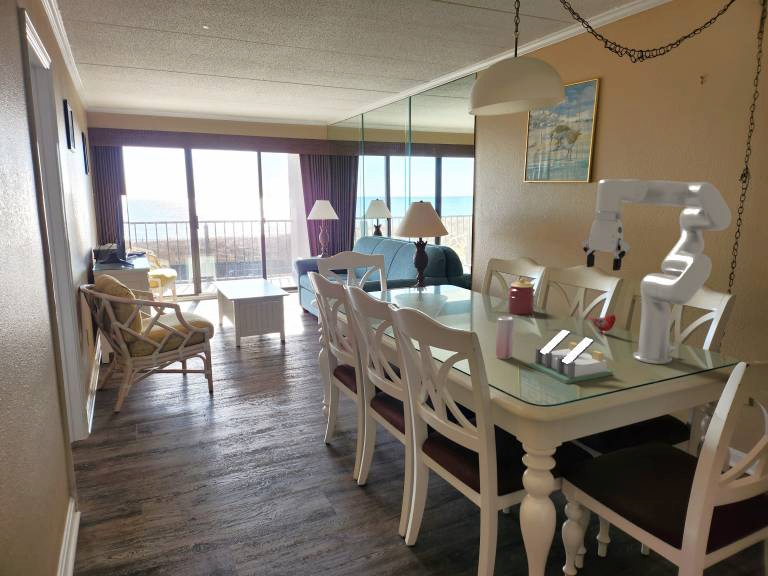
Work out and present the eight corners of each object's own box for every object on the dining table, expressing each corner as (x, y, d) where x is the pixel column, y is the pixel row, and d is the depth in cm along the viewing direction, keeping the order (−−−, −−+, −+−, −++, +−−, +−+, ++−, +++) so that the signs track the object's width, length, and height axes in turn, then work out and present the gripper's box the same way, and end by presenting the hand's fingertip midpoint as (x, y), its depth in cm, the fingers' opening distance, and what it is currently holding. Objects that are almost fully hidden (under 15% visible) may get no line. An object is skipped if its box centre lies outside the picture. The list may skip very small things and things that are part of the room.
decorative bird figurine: (612, 339, 214) (614, 315, 212) (583, 328, 231) (584, 307, 229) (617, 338, 215) (619, 315, 213) (588, 328, 232) (589, 306, 230)
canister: (517, 308, 272) (518, 275, 269) (538, 312, 263) (540, 278, 260) (502, 312, 264) (503, 278, 261) (524, 316, 254) (526, 281, 251)
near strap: (586, 339, 173) (585, 337, 172) (594, 341, 170) (593, 339, 170) (562, 362, 170) (561, 361, 170) (569, 365, 167) (568, 363, 167)
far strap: (563, 331, 183) (562, 329, 182) (570, 333, 180) (569, 331, 180) (540, 353, 180) (539, 351, 180) (546, 356, 177) (545, 354, 177)
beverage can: (494, 354, 195) (495, 316, 193) (510, 354, 195) (511, 316, 192) (497, 359, 190) (498, 320, 187) (513, 359, 189) (515, 320, 187)
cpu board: (573, 359, 189) (575, 339, 188) (612, 374, 173) (614, 353, 172) (529, 366, 182) (530, 346, 180) (565, 383, 165) (566, 361, 164)
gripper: (638, 218, 165) (633, 271, 168) (591, 216, 179) (587, 264, 182) (625, 218, 161) (620, 272, 164) (577, 216, 175) (574, 266, 178)
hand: (603, 268), depth 173 cm, fingers open, 9 cm apart
